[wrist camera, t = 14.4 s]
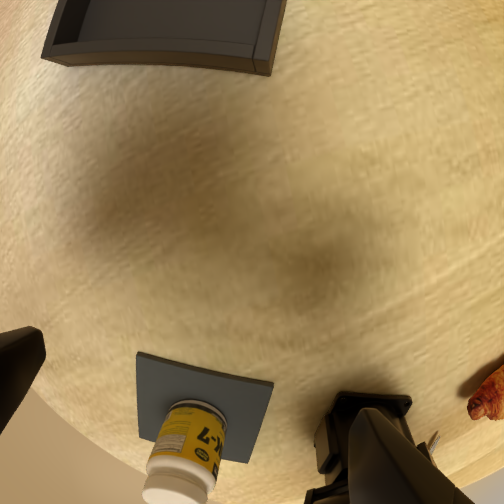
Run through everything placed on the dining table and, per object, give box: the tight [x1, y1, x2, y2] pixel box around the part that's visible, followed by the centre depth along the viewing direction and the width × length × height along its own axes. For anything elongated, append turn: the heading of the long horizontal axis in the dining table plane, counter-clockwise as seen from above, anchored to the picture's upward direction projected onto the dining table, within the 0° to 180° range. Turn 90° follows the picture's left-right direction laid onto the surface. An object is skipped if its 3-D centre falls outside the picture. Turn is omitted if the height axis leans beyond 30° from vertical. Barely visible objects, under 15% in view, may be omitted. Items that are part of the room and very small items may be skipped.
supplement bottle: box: [142, 400, 227, 504], centre depth 19 cm, size 5×5×8 cm
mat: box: [136, 352, 274, 464], centre depth 23 cm, size 10×10×1 cm
